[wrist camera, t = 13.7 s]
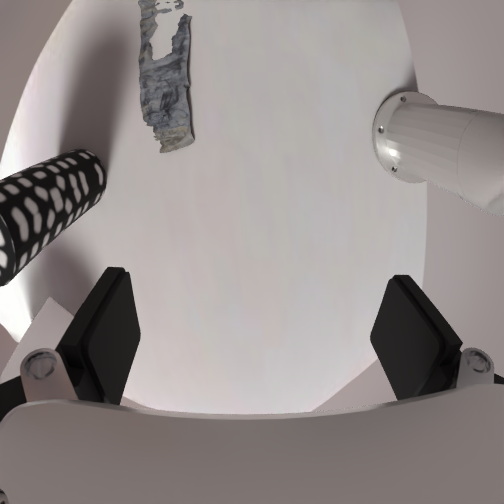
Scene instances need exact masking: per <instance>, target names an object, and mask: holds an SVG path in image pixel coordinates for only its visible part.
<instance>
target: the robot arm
mask: <svg viewBox="0 0 504 504" xmlns="http://www.w3.org/2000/svg"><path fill="white" fill-rule="evenodd" d="M379 128H380V131H378V129H379ZM373 144H374V149H375V152H376V155H377V158H378V159H379V161H380V163H381V165H382V166H383V167H384V168H385V170H386V171H387V172H388V173H390V174H391V175H392V176H394V177H395V178H397V179H399V180H401V181H404V182H407V183H421V182H424V181H429V182H431V183H432V184H435V185H436V186H438V187H440V188H442V189H444V190H446V191H448V192H450V193H452V194H453V195H455V196H457V197H459V198H461V199H462V200H464V201H466V202H468V203H470V204H471V205H473V206H475V207H477V208H479V209H480V210H482V211H484V212H486V213H488V214H491V215H495V216H504V114H500V113H495V112H489V111H482V110H476V109H469V108H461V107H454V106H444V105H438V104H437V103H436V102H435V101H434V100H433V99H431V98H430V97H429V96H426V95H424V94H422V93H419V92H410V91H407V92H400V93H398V94H395V95H393V96H391V97H390V98H389V99H387V100H386V101H385V102H384V103H383V105H382V106H381V107H380V109H379V111H378V112H377V115H376V118H375V120H374V125H373ZM392 167H393V169H392ZM140 336H141V333H140V327H139V322H138V317H137V312H136V307H135V301H134V296H133V290H132V284H131V278H130V274H129V272H125V269H124V268H122V267H108V268H107V269H106V270H105V271H104V273H103V274H102V276H101V277H100V279H99V280H98V282H97V283H96V285H95V286H94V288H93V289H92V291H91V292H90V294H89V295H88V297H87V298H86V300H85V302H84V303H83V304H82V305H81V307H80V308H79V310H78V312H77V313H76V315H75V316H74V318H73V320H72V321H71V323H70V325H69V326H68V328H67V330H66V331H65V333H64V335H63V336H62V338H61V340H60V341H59V343H58V345H57V347H56V348H55V350H53V349H49V348H41V349H36V350H34V351H32V352H30V353H29V354H28V355H27V356H25V358H24V359H23V361H22V362H21V365H20V375H19V376H17V377H15V378H13V379H10V380H8V381H6V382H4V383H1V384H0V504H504V378H503V377H501V376H499V375H497V374H494V364H493V361H492V360H491V358H490V357H489V356H488V355H487V354H486V353H485V352H484V351H482V350H480V349H477V348H467V349H465V350H464V351H463V352H461V351H460V347H461V345H462V344H463V342H462V341H461V340H460V338H459V337H458V336H457V334H456V333H455V332H454V330H453V329H452V328H451V326H450V325H449V324H448V322H447V321H446V320H445V318H444V317H443V316H442V315H441V313H440V312H439V311H438V309H437V308H436V307H435V306H434V305H433V303H432V302H431V301H430V300H429V298H428V297H427V296H426V295H425V294H424V292H423V291H422V290H421V289H420V287H419V286H418V285H417V284H416V283H415V281H414V280H413V279H412V278H411V277H410V276H409V275H394V276H393V278H392V279H390V280H389V281H388V284H387V287H386V291H385V294H384V297H383V300H382V303H381V306H380V309H379V312H378V315H377V317H376V320H375V323H374V326H373V329H372V331H371V335H370V340H371V344H372V346H373V348H374V350H375V352H376V354H377V356H378V358H379V360H380V362H381V365H382V367H383V369H384V371H385V373H386V375H387V378H388V380H389V382H390V384H391V386H392V389H393V391H394V393H395V395H396V398H397V400H398V401H393V402H388V403H382V404H375V405H369V406H362V407H355V408H348V409H338V410H328V411H317V412H304V413H288V414H250V415H240V414H204V413H187V412H174V411H164V410H153V409H143V408H135V407H127V406H120V402H121V398H122V395H123V392H124V388H125V385H126V382H127V378H128V375H129V372H130V369H131V366H132V363H133V360H134V357H135V354H136V351H137V348H138V345H139V342H140Z"/></svg>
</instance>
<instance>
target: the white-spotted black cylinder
mask: <svg viewBox="0 0 504 504" xmlns="http://www.w3.org/2000/svg"><path fill="white" fill-rule="evenodd" d="M105 188H106V174H105V170H104V167H103V165H102V163H101V161H100V160H99V159H98V158H97V157H96V156H95V155H94V154H93V153H91V152H89V151H87V150H82V149H77V150H73V151H70V152H67V153H64V154H62V155H59V156H56V157H54V158H51V159H48V160H46V161H43V162H41V163H38V164H36V165H33V166H31V167H29V168H26V169H24V170H22V171H19V172H17V173H15V174H13V175H10V176H8V177H6V178H4V179H2V180H0V286H4V285H7V284H8V283H9V282H10V281H11V280H12V279H13V278H14V277H15V276H16V275H17V274H18V273H19V272H20V271H21V270H22V269H23V268H24V267H25V266H26V265H27V264H28V263H29V262H30V261H31V260H32V259H33V258H34V257H35V256H36V255H38V254H39V253H40V252H41V251H42V250H43V249H44V248H45V247H46V246H47V245H48V244H49V243H50V242H52V241H53V240H54V239H55V238H56V237H57V236H58V235H59V234H61V233H62V232H63V231H64V230H65V229H66V228H67V227H69V226H70V225H71V224H72V223H73V222H75V221H76V220H77V219H78V218H79V217H81V216H82V215H83V214H84V213H85V212H87V211H88V210H89V209H90V208H92V207H93V206H94V205H95V204H97V203H98V202H99V200H100V199H101V198H102V196H103V194H104V191H105Z"/></svg>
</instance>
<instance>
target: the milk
mask: <svg viewBox="0 0 504 504" xmlns="http://www.w3.org/2000/svg"><path fill="white" fill-rule="evenodd" d="M73 318H74V316H73V315H72V314H70V313H69V312H68V311H67V310H65V309H64V308H63V307H62V306H61V305H59V304H58V303H57V302H56V301H55V300H53V299H52V298H51V297H50V296H49V298H48V299H47V301H46V302H45V303H44V305H43V306H42V308H41V309H40V311H39V312H38V314H37V315H36V317H35V319H34V320H33V322H32V323H31V325H30V326H29V328H28V330H27V331H26V333H25V334H24V336H23V338H22V339H21V341H20V343H19V344H18V346H17V348H16V349H15V351H14V353H13V355H12V357H11V358H10V360H9V362H8V364H7V365H6V367H5V369H4V371H3V373H2V375H1V378H0V384H1V383H4V382H6V381H8V380H10V379H13V378H15V377H17V376H19V375H20V365H21V362H22V361H23V359H24V358H25V356H27V355H28V354H29V353H30V352H32V351H34V350H36V349H41V348H49V349H53V350H55V348H56V347H57V345H58V343H59V341H60V340H61V338H62V336H63V335H64V333H65V331H66V330H67V328H68V326H69V325H70V323H71V321H72V320H73Z"/></svg>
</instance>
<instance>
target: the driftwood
mask: <svg viewBox="0 0 504 504" xmlns="http://www.w3.org/2000/svg"><path fill="white" fill-rule="evenodd" d="M156 1H157V0H139V1H138V4H139V5H140V6H141V7H140V8H141V14H142V15H141V16H142V19H141V21H140V27H141V40H142V41H141V50H140V56H139V66H140V67H139V68H140V77H139V82H140V88H141V93H140V101H141V108H142V113H143V120H144V121H145V122H147V126H153V127H154V128H153V132H154V133H155V135H156V136H154V137H155V138H157V139H155V140H160V143H161V144H162V147H161V149H160V153H164V152H171V151H172V150H177V149H179V148H183V147H185V146H188V145H190V144H192V143H193V142H194V138H193V137H192V134H191V128H190V114H189V113H190V112H189V108H188V103H187V99H186V90H187V89H189V88H190V84H189V82H188V78H187V59H188V54H189V52H188V50H189V42H190V40H189V39H190V35H189V30H188V23H189V22H190V20H191V17H192V16H188V15H186V14H184V15H183V16H182V17H181V18H180V22H179V23H178V26H179V28H178V31H177V33H176V35H175V36H173V37H172V39H171V40H172V46H173V48H172V53H169V54H168V55H166V56H165V57H164V58H161V59H159V60H153V59H152V55H153V53H152V47H151V45H150V42H149V39H150V38H151V37H152V36H153V34H154V32H155V30H156V29H157V27H158V25H157V23H156V22H155V17H156V16H157V14H158V13H167V12H170V11H172V10H171V9H166V8H165V9H161V10H157V9H156V8H155V7H154V6H156V5H158V4H160V3H157V4H156V5H155V2H156ZM177 2H178V3H179V5H176V6H175V8H176V9H177V10H178V9H182V8H183V4H184V2H182V1H181V0H177V1H174V3H177ZM166 3H170V2H166ZM146 18H147V19H146Z"/></svg>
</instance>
